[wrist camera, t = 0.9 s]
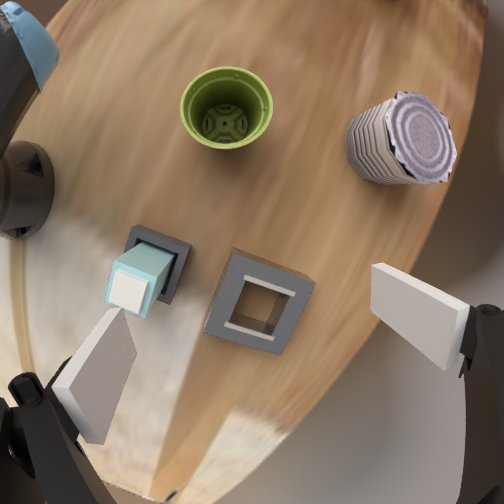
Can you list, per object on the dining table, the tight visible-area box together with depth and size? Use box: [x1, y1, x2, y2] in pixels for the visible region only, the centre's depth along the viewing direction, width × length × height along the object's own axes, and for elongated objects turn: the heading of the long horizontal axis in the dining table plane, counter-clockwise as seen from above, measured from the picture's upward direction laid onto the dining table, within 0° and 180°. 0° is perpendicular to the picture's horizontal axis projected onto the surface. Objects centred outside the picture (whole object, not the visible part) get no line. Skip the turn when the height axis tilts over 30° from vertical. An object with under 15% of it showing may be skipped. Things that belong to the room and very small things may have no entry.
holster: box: [124, 225, 191, 305], centre depth 35 cm, size 8×8×3 cm
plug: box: [104, 241, 176, 319], centre depth 30 cm, size 4×4×13 cm
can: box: [344, 91, 457, 185], centre depth 31 cm, size 11×11×12 cm
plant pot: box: [180, 67, 273, 149], centre depth 30 cm, size 9×9×9 cm
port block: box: [203, 247, 316, 355], centre depth 37 cm, size 11×11×4 cm
